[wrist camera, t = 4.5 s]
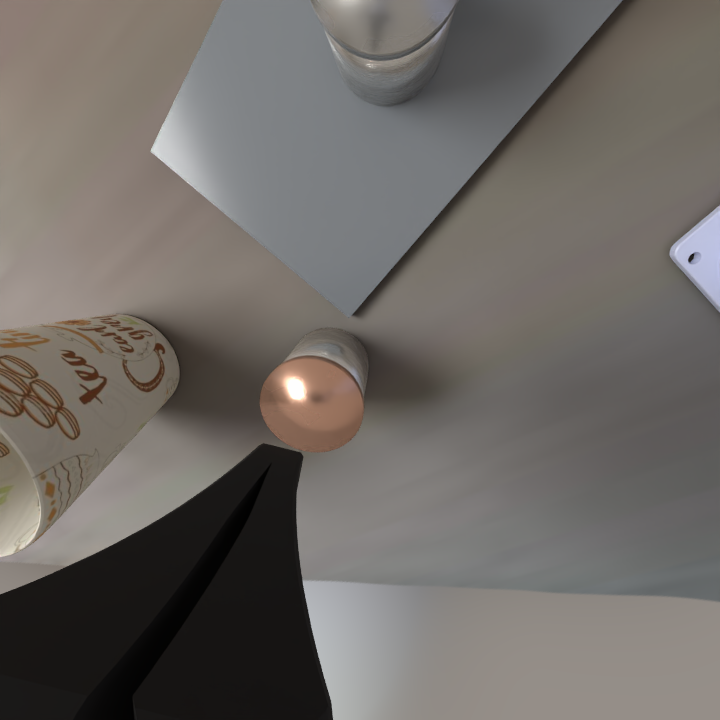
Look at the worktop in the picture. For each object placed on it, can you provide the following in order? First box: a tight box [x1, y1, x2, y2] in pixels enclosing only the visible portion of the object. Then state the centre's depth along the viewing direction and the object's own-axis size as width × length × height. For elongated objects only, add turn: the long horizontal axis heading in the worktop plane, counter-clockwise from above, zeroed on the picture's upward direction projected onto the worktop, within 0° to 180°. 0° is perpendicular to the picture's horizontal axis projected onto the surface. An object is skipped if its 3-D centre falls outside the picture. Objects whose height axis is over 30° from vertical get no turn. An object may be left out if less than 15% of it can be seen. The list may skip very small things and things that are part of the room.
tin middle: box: [310, 0, 459, 106], centre depth 11 cm, size 5×5×5 cm
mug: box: [0, 314, 180, 557], centre depth 17 cm, size 8×13×10 cm, turn 117°
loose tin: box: [260, 328, 369, 452], centre depth 17 cm, size 5×5×5 cm
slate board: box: [151, 0, 622, 318], centre depth 14 cm, size 12×18×1 cm, turn 140°
